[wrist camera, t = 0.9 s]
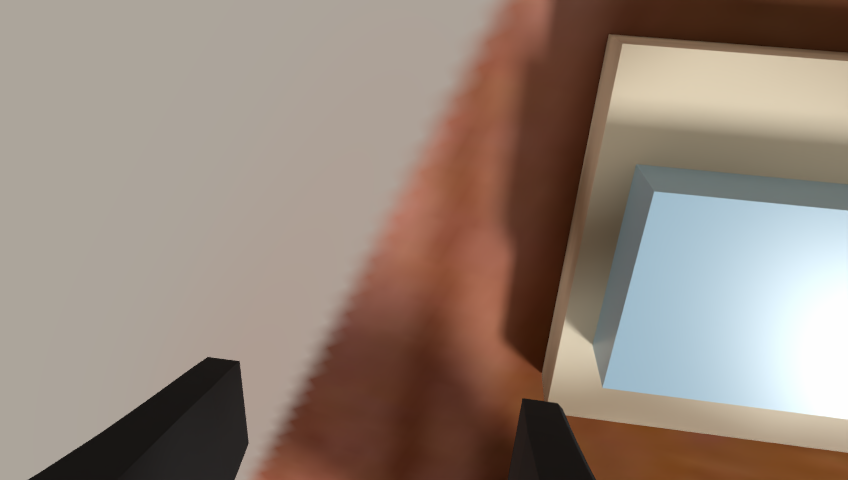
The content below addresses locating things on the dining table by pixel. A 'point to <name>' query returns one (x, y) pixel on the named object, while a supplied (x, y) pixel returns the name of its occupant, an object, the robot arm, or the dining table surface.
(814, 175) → the beige flat square slab
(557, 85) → the dining table surface
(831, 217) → the light blue block
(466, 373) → the dining table surface
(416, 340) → the dining table surface
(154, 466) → the robot arm
